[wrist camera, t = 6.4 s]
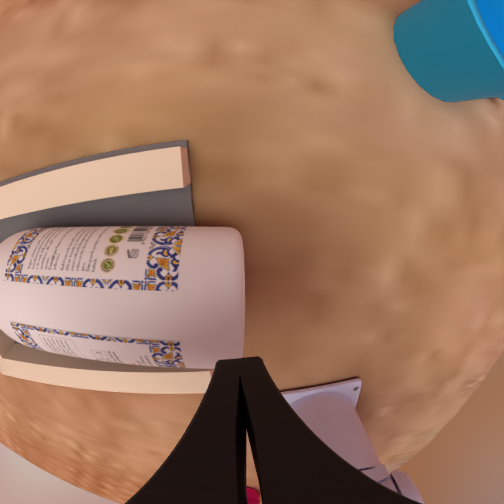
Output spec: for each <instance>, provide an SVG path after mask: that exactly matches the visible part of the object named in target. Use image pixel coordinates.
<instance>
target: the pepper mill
mask: <svg viewBox="0 0 504 504" xmlns="http://www.w3.org/2000/svg"><path fill="white" fill-rule="evenodd" d="M246 489H247V501H248V504H259V502H260V501H259V494H258V492H257V491H256V490H255V489H252V488H249V487H246Z"/></svg>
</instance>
